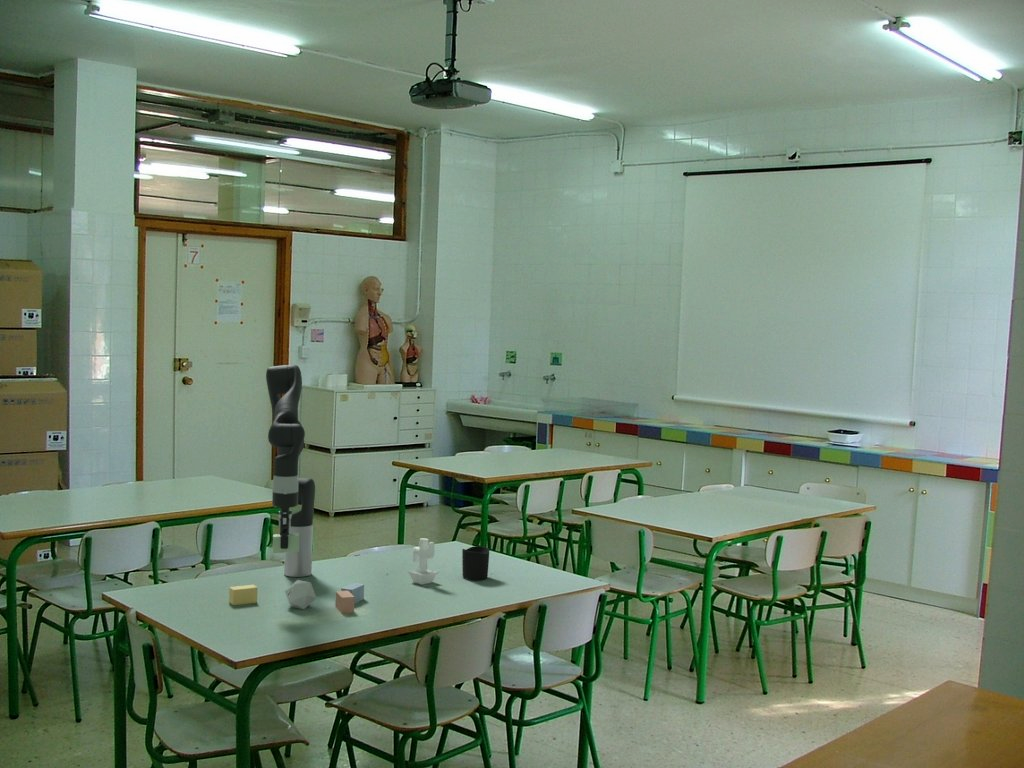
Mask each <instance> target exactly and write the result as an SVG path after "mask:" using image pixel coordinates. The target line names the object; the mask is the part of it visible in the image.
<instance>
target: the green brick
mask: <svg viewBox="0 0 1024 768" xmlns="http://www.w3.org/2000/svg"><path fill="white" fill-rule="evenodd" d="M280 545H281V536H280V533H275V534H273V535H272V549H273V550H272V551H273V552H272V553H273V554H278V553H279V554H281V553H283V554H285V552H299V533H293V534H289V536H288V548H287V549H281V548H280Z"/></svg>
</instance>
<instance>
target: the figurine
mask: <svg viewBox="0 0 1024 768" xmlns="http://www.w3.org/2000/svg"><path fill="white" fill-rule="evenodd" d="M434 556H435V542H433V541H430V542H429V539H428V538H426V537H425V538H424V537H423V538H419V542H418V546H414V547H413V549H412V562H413V563H418V569H417V568H416V569H413V570H408V571H407V573H408V574H409V576H410V579H411V580H412V582H413V583H415V584H418V585H423V586H424V585H428V584H432V583H433V582H434V580H435V578H436V576H437V575H438V573H439V572H438V571H435V570H431V569H429V568H428V559H433V558H434Z"/></svg>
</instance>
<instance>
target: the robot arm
mask: <svg viewBox="0 0 1024 768" xmlns="http://www.w3.org/2000/svg"><path fill="white" fill-rule="evenodd" d="M265 374H266V375H265V379H266V385H267V391H268V396H269V402H270V405H271V411H272V417H273V418H272V419H273V422H272V423H271V425H270V427H269V430H268V434H267V439H268V442H269V444H270V445H271V446H272V447H275V448H276V451H277V456H275V457H274V460H273V479H272V498H271V499H272V502H271V503H272V504H271V505H272V506H273V507H275V508H280V510H278V513H277V514H278V515H277V518H278V528H279V529H280V530H279V531H280V532H279V534H280V536H281V545H280V548H281V549H287V548H288V536H289V534H293V533H299V552H284V562H283V563H284V564H283V565H284V566H283V575H284V576H286V577H291V578H294V577H295V578H304V577H308V576H311V575H312V568H313V566H312V565H313V533H314V532H313V530H314V526H313V525H314V513H315V501H316V500H315V497H316V485H315V481H314V479H312V478H311V477H310V478H309V477H299V457H300V455H301V453H302V452H303V450H304V447H305V437H306V436H305V435H306V432H305V428H304V427H303V425H302V423H301V422H300V420H299V410H298V409H299V402H300V398H301V394H302V388H303V378H302V372H301V369H300V367H299V365H297V364H284V365H276V366H275V365H273V366H269V367H268V368H266V371H265ZM281 395H283V396H282V397H281ZM297 506H301V508H300V510H299V511H297V512H294V513H292V512H293V511H291V510H290V508H296V507H297Z"/></svg>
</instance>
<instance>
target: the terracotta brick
mask: <svg viewBox="0 0 1024 768" xmlns="http://www.w3.org/2000/svg"><path fill="white" fill-rule="evenodd" d="M334 607H335V608H336V609H337V610H338V611H339V612H340V613H341V614H350V613H355V603H354V596H353V595H352V594H351V593H350V592H349V591H341V590H338V591H335V603H334Z"/></svg>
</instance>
